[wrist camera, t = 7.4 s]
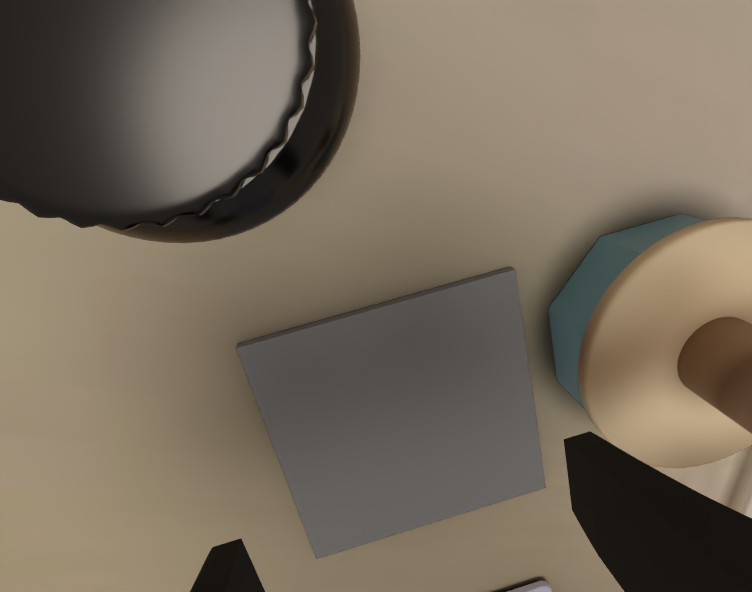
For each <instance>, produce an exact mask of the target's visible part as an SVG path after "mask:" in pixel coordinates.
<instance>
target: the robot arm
mask: <svg viewBox="0 0 752 592" xmlns="http://www.w3.org/2000/svg"><path fill="white" fill-rule="evenodd" d="M564 445H565V453H566V462H567V470H568V479H569V487H570V495H571V504H572V511H573V512H574V514H575V516H576V518H577V519H578V521H579V523H580V525H581V527H582V528H583V530H584V532H585V534H586V535H587V537H588V539H589V541H590V542H591V544H592V546H593V547H594V549H595V551H596V552H597V554H598V556H599V557H600V558H601V560H602V561H603V563H604V564H605V565H606V567H607V568H608V569H609V571H610V572H611V574H612V575H613V576H614V578H615V579H616V580H617V582H618V583H619V585H620V586H621V587H622V589H623V590H624V591H625V592H752V518H749V517H747V516H745V515H743V514H741V513H739V512H737V511H735V510H733V509H731V508H728V507H726V506H724V505H722V504H720V503H718V502H716V501H714V500H712V499H710V498H708V497H706V496H704V495H702V494H700V493H698V492H696V491H694V490H692V489H691V488H689V487H687V486H685V485H683V484H681V483H679V482H678V481H676V480H674V479H672V478H670V477H668V476H667V475H665V474H663V473H661V472H659V471H658V470H656V469H654V468H652V467H650V466H649V465H647V464H645V463H644V462H642V461H640V460H638V459H637V458H635V457H633V456H631V455H630V454H628V453H626V452H625V451H623V450H621V449H619V448H618V447H616V446H614V445H613V444H611V443H609V442H607V441H606V440H604V439H602V438H601V437H599V436H597V435H595V434H594V433H592V432H587V433H583V434H580V435H577V436H574V437H570V438H567V439H564ZM190 592H265V591H264V588H263V586H262V584H261V582H260V580H259V577H258V575H257V573H256V571H255V568H254V566H253V564H252V562H251V559H250V557H249V555H248V553H247V550H246V548H245V546H244V544H243V541H242V539H238V540H235V541H231V542H228V543H225V544H222V545H218V546H215V547H213V548H212V549H211V551H210V553H209V554H208V556H207V558H206V560H205V562H204V564H203V566H202V568H201V571H200V573H199V575H198V577H197V579H196V581H195V583H194V585H193V587H192V589H191V591H190ZM507 592H552V590H551V588H550V586H549V584H548V583H547V582H546V581H538V582H535V583H532V584H528V585H525V586H522V587H519V588H516V589H513V590H510V591H507Z"/></svg>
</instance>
